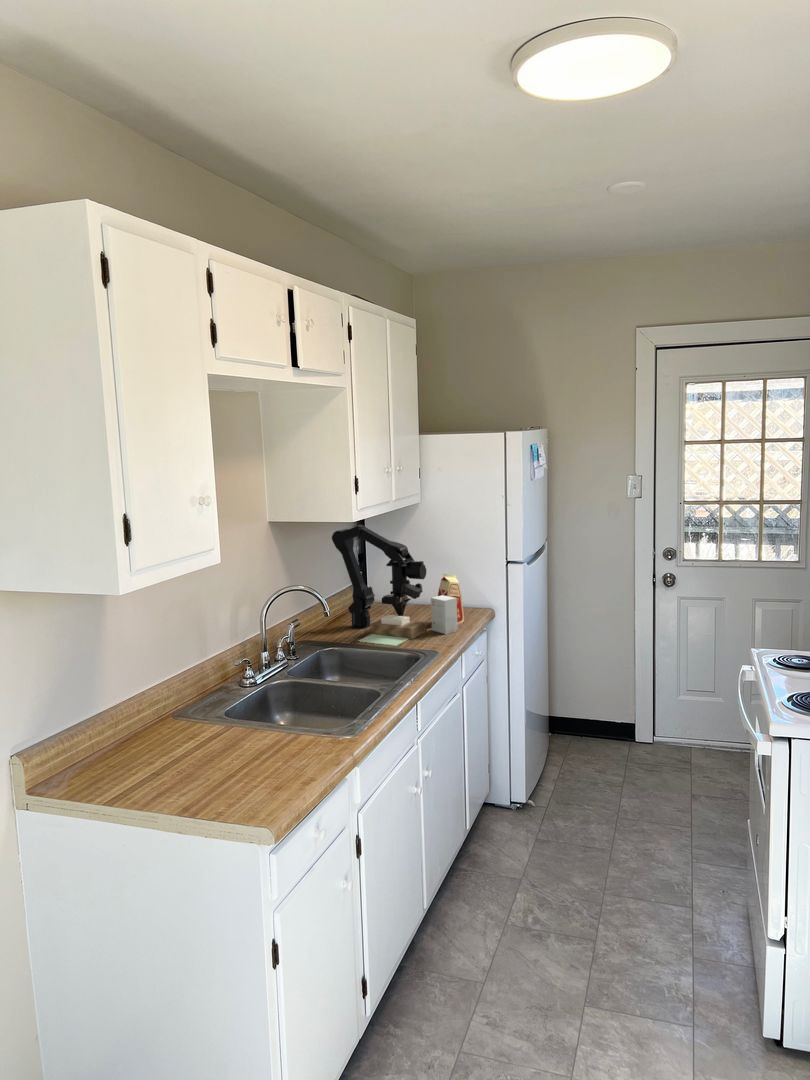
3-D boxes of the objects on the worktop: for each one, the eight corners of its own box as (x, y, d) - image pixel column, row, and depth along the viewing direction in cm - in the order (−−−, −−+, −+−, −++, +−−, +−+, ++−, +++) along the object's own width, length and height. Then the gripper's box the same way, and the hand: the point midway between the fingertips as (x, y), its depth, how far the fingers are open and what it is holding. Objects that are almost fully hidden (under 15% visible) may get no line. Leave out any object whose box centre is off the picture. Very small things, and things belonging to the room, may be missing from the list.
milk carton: (449, 626, 314) (448, 575, 311) (433, 622, 321) (432, 573, 318) (466, 622, 319) (465, 572, 316) (450, 618, 326) (449, 569, 323)
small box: (457, 631, 306) (457, 597, 304) (445, 634, 302) (444, 600, 300) (443, 627, 312) (442, 594, 310) (431, 630, 308) (430, 597, 306)
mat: (357, 641, 296) (357, 640, 296) (372, 634, 305) (371, 634, 305) (395, 646, 288) (395, 645, 288) (409, 639, 297) (409, 638, 297)
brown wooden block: (370, 634, 305) (370, 624, 305) (383, 628, 314) (383, 618, 314) (412, 639, 297) (411, 628, 296) (424, 632, 305) (424, 622, 305)
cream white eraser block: (381, 623, 305) (381, 618, 305) (389, 619, 311) (389, 614, 310) (402, 625, 301) (401, 620, 301) (409, 621, 306) (409, 616, 306)
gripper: (406, 583, 295) (407, 625, 297) (429, 574, 311) (430, 614, 314) (380, 581, 300) (381, 622, 303) (404, 572, 317) (405, 611, 319)
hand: (400, 617), depth 309 cm, fingers closed
